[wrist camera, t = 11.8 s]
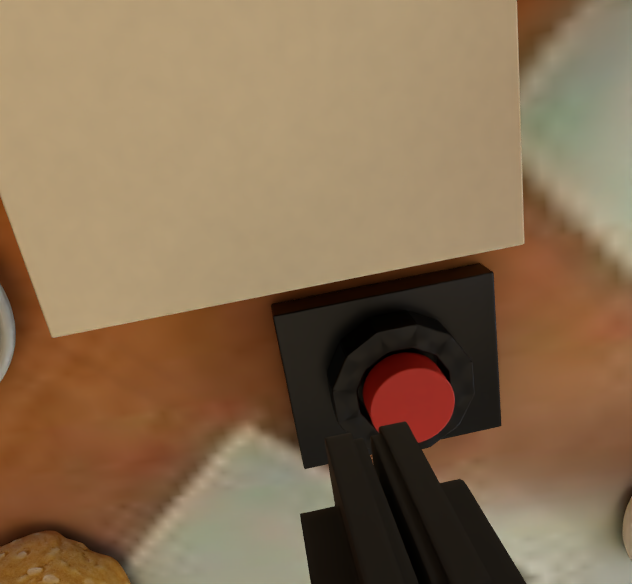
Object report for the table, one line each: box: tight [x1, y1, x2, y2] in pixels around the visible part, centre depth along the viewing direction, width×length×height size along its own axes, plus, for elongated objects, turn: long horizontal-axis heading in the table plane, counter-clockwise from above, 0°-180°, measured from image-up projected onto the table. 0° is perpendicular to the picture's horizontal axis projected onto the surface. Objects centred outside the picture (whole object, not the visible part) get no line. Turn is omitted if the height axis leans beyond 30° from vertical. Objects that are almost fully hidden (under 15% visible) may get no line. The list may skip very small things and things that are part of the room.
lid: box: [0, 0, 524, 338], centre depth 15 cm, size 14×13×1 cm
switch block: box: [271, 263, 501, 469], centre depth 28 cm, size 11×9×4 cm
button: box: [363, 352, 455, 443], centre depth 26 cm, size 4×4×2 cm
